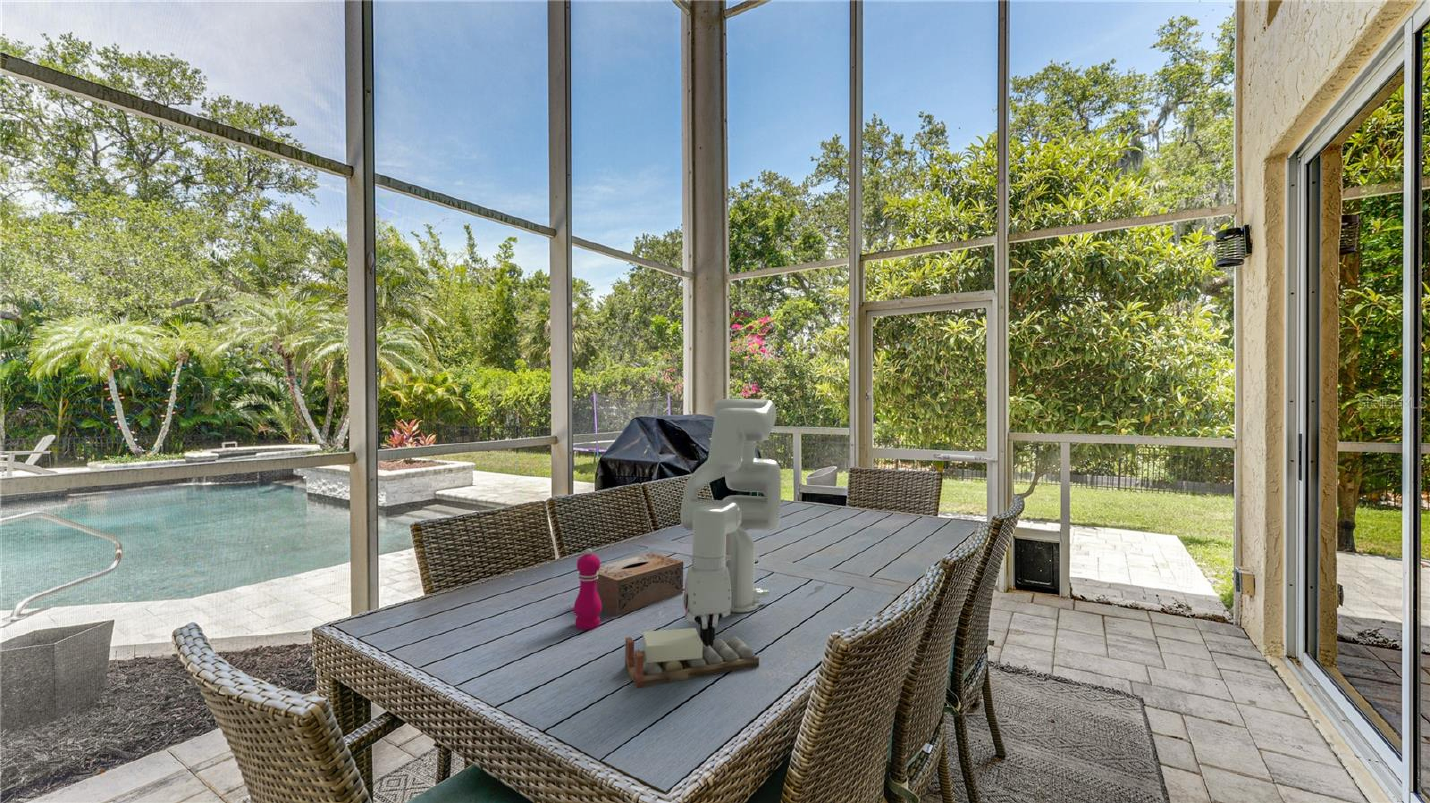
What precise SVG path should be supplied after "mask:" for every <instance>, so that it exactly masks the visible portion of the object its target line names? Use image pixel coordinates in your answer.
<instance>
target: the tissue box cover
mask: <svg viewBox="0 0 1430 803" xmlns="http://www.w3.org/2000/svg"><path fill="white" fill-rule="evenodd" d="M597 572H598V579H597V580H596V588H597V592H598V595H599V597H600V600H601V603H602V611H603V612H606V613H608V614H611V615H613V616H615V617H617V616H621V615H623V614H626V613H629V612H632V611H635V610H638V609H641V608H643V607H648V606H650V605H652V604H656V603H659V602H662V601H664V600H668V599H670V598H674V597H676V596H680V595H682V594H683V595H684V560H680V559H676V558H672V557H668V556H664V555H661V554H657V553H654V552H649V553H645V554H641V555H637V556H633V557H632V556H631V557H628V558H624V559H621V560H617V561H613V562H608V563H605V564H600V568H599V570H598V571H597Z"/></svg>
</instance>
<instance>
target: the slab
mask: <svg viewBox="0 0 1430 803" xmlns="http://www.w3.org/2000/svg"><path fill="white" fill-rule="evenodd" d="M702 648H703V642H702V640H701V638H700V633H698V631H697V629H696V627H692V628H691V627H689V628H678V629H676V628H675V629H663V630H662V629H661V630H650V631H642V650H643V651H644V654H645V658H646V662H647V663H652V662H664V661H676V660H687V659H699V658H702Z"/></svg>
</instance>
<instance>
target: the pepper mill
mask: <svg viewBox="0 0 1430 803" xmlns="http://www.w3.org/2000/svg"><path fill="white" fill-rule="evenodd" d="M584 552H585V554H583V555H581V556H580V557H579V558H578V559H577V562H576V569H577V570H578V571H579V573H578V580H579V583H580V584H579V585H580V586H579V591H578V595H577V597H576V599H575V601H574V605H573V613H574V615H575V616H576V618H575V619H574V620H575V623H574V624H575V627H576V628H577V629H579V630H594V629H596V628H598V627H599V626H600V624H601V617H600V614H601V612H602V611H603V610H602V603H601V600H600V597H599V595H598V592H597V588H596V580H597V579H598V572H597V571H598V570H599V568H600V565H601V560H600V558H599V557H598V556H597V555H595V554H593V550H592V548H586V549H585V551H584Z"/></svg>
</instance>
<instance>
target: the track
mask: <svg viewBox="0 0 1430 803" xmlns="http://www.w3.org/2000/svg"><path fill="white" fill-rule="evenodd" d="M624 645H625V650H624V656H625V658H624V668H625V670H626V671H627V673H628V676H630V678H631V679H632V681H633V683H634V685H635V687H636V689H639V688H644V687H645V688H646V687H650V686H656V685H661V684H668V683H673V682H678V681H683V680H684V681H685V680H688V679H689V680H690V679H696V678H701V677H706V676H711V675H718V674H724V673H729V672H730V673H731V672H734V671H735V672H736V671H739V670H740V671H741V670H745V669H751V668H756V667H760V657H759V656H757V655H756V653H755V652H754V650H753V649H752V648H750V647H749V646H748V645H747V644H746V643H745V642H743V641H742V639H740V638H739V637H738V636H735V635H733V636H731V637H730V638H729V639H728V640H727V642H725V641H724V640H723V639H722V638H715V640H713V646H710V645H709V646H707V647H706V646H705V645H704V644H703V648H702V658H699V659H687V660H679V662H680V663H681V664H682V667H683V669H682V670H676V671H670V672H666V671H665V670H664V668H663V667H662V665H661V664H660V663H659V662H652V663H647V662H646V658H645V654H644V651H643V649H641V650H635V641H634V640H633V638H632V637H631V636H630V637H625V644H624Z"/></svg>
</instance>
